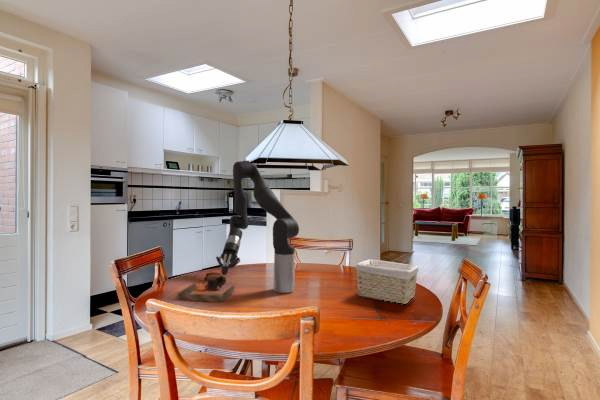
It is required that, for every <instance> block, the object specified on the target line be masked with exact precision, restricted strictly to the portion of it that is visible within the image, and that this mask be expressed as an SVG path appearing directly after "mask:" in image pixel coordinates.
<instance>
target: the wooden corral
mask: <svg viewBox="0 0 600 400" xmlns="http://www.w3.org/2000/svg"><path fill="white" fill-rule="evenodd" d="M196 290H197V283H192V284H191V285H189V286H188V287H186V288H184V289H182V290H181V291H179V292H177V300H179V299H184V300H183V301H195V300H199V301H198V302H210V303H211V302H212V303H213V302H214V303H223V302H224V301H225V300H227V299H228V297H230V296H231V295H232V294H233V293H234V292H235V285H232V286H230V287H229V288H228V289H227V290H225V291H224V292H223V293H221V294H208V293H207V294H206V293H205V294H204V293H192V292H194V291H196Z"/></svg>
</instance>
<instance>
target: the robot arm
mask: <svg viewBox="0 0 600 400" xmlns="http://www.w3.org/2000/svg"><path fill="white" fill-rule="evenodd" d="M249 161H250V160H242V161H241V160H240V161H236V162H234V164H233V166H232V176H233V177H232V179H233V190H234V191H233V192H234V200H233V201H234V203H233V213H234V214H235V215H232V216H230V218H229V232H228V235H227V238H226V240H225V243H224V247H223V250H222V253H221V254H220V256H216V257H215V259H216V261H217V264H218V265H219V267H220V268H221V271H220V272H221V273H220V274H221V275H222V276H226V275H228V273H229V269H233V268H234V267H236V266H237V265H238V264H239V263H240V262H241V259H240V257H238V253H239V249H240V246H241V240H242V237H243V231H242V230H246V229H248V227H249V224H250V223H249V216H248V209H247V208H248V196H247V194H246V192H245V190H244V188H243V186H242V182H243V181H242V180H245V179H250V180H252V183H253V197H254V200H255V201H256V203H257V204H258V205H259V207H260V208H261V209H263V210H264V211H265V212H266V213H268V214H269V215H271V217H273V218H274V219H276V220H275V221H274V222H273V224H272V225H273V226H272V246H273V250H274V251H273V252H274V253H273V254H274V255H273V257H274V258H273V259H274V260H273V292H275V293H280V294H281V293H282V294H286V293H293V292H294V290H295V271H296V269H295V247H294V246H292V245H291V244H289V239H292V238H295V237H297V236H298V234H299V232H300V228H299V224H298V221H297V220H296V219H295V218H294V217H293V215H292V214H290V213H289V211H288V210H287V209H286V207H284V205H283V204H282V203H281V201H280V200H279V198H278V197H277V196H276V195H275V192H273V190H272V189H271V188H270V186H269V185H268V184H267V182H266V181H265V179H264V178H263V176H262V174H261V172H260V171H259V169H258V167H257V165H256V164H255V163H254V162H253V163H250V162H249ZM236 214H237V215H236ZM222 261H223V262H222Z"/></svg>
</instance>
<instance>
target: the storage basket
mask: <svg viewBox="0 0 600 400" xmlns="http://www.w3.org/2000/svg"><path fill="white" fill-rule="evenodd" d="M355 270H356V277H357V278H356V279H357V295H358V296H360V297H363V298H369V299H374V300H379V301H382V300H384V301H383V302H386V301H390V302H389V303H392V302H393V303H394V302H396V303H395V304H397V303H402V304H401V305H403V304H406V303H408V302H409V301H410V299H411V298H413V297H414V298H415V295H416V285H417V274H418V272H419V266H418V265H413V264H406V263H400V262H395V261H394V262H393V261H386V260H380V259H367V260H363V261H361V262H358V263H356V265H355ZM414 298H413V299H414ZM410 302H411V301H410ZM410 302H409V303H410ZM409 303H408V304H409Z"/></svg>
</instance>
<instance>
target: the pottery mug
mask: <svg viewBox="0 0 600 400" xmlns="http://www.w3.org/2000/svg"><path fill="white" fill-rule="evenodd" d="M203 280H204V282H206V281H207V284H204V291H208V290H211V291H212V290H214V291H218V288H219V289H220V288H222V287H223V286H224V285H225V284H226V282H227V278H226V276H225V275H223V274H222V273H219V272H207V273H206V274H205V276H204V278H203Z"/></svg>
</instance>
